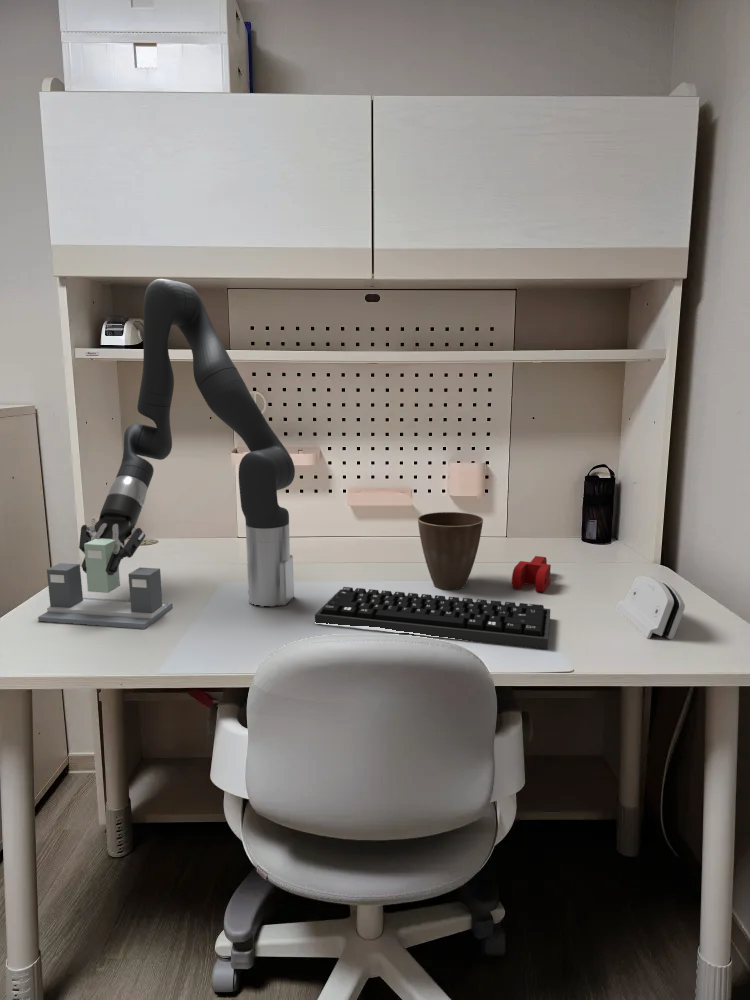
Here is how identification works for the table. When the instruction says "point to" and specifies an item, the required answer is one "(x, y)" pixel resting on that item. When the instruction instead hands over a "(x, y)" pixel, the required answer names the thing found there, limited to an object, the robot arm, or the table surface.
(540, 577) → the mechanical linkage
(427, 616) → the computer keyboard
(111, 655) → the table surface
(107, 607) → the rail board
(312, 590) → the table surface
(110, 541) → the block
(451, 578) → the plant pot
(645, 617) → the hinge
